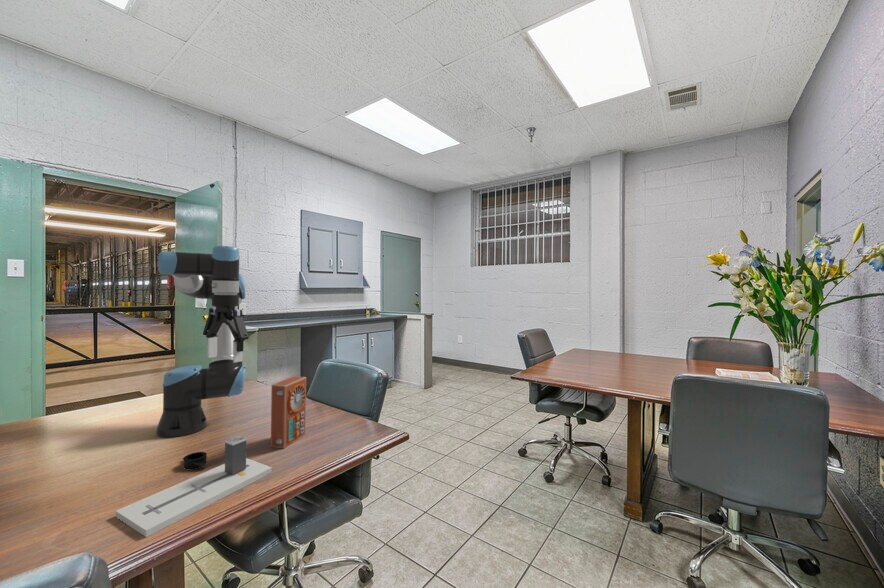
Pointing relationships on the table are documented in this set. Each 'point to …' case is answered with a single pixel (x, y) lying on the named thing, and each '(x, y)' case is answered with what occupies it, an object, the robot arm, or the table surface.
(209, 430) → the table surface
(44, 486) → the table surface
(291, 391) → the control panel
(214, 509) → the table surface
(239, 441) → the slider handle
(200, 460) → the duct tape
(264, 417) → the table surface
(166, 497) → the fader board
